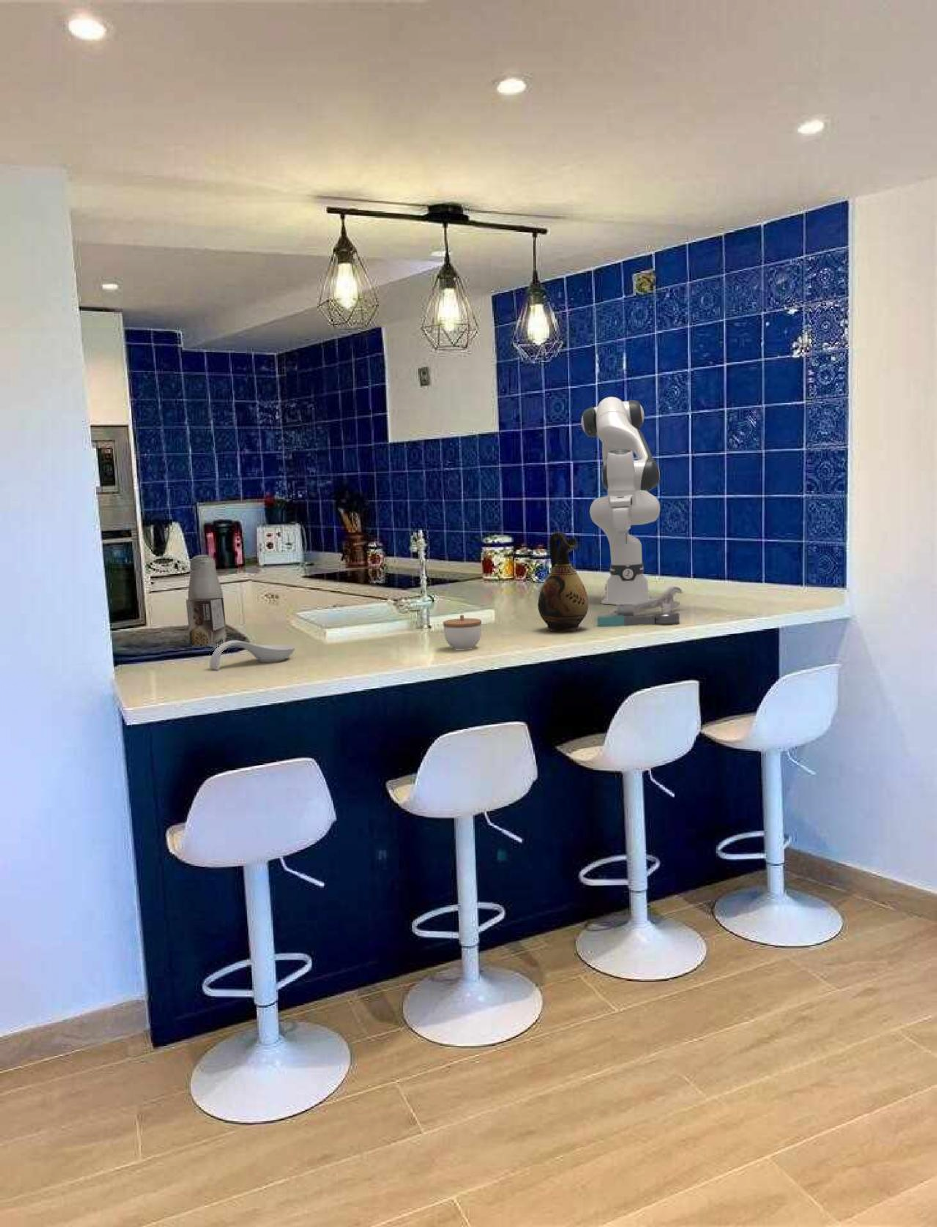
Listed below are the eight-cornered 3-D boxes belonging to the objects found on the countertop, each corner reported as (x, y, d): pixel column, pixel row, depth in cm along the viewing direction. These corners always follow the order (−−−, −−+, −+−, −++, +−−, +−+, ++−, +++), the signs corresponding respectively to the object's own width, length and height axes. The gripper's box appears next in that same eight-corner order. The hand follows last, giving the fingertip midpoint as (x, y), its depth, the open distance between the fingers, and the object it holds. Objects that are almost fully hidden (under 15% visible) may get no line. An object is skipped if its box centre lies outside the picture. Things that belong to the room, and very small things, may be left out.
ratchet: (597, 623, 303) (596, 604, 302) (677, 620, 301) (677, 601, 300) (598, 627, 295) (597, 608, 294) (681, 624, 293) (680, 605, 292)
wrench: (609, 627, 313) (680, 607, 326) (613, 628, 311) (684, 608, 324) (606, 603, 311) (678, 584, 325) (610, 604, 310) (681, 585, 323)
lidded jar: (485, 644, 274) (483, 612, 273) (478, 651, 264) (477, 617, 263) (448, 645, 276) (447, 613, 275) (440, 651, 266) (439, 618, 265)
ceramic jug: (599, 629, 291) (596, 530, 287) (556, 635, 284) (553, 534, 280) (567, 623, 306) (564, 529, 302) (526, 629, 299) (522, 532, 295)
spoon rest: (283, 655, 274) (281, 630, 273) (303, 660, 265) (301, 634, 264) (204, 668, 260) (202, 642, 259) (222, 673, 251) (220, 646, 250)
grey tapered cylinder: (201, 641, 307) (193, 553, 303) (231, 640, 305) (224, 552, 302) (187, 646, 298) (179, 556, 294) (218, 646, 296) (210, 555, 292)
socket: (616, 620, 309) (616, 604, 308) (632, 619, 308) (632, 604, 308) (617, 622, 304) (617, 606, 303) (633, 621, 303) (633, 606, 303)
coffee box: (229, 651, 285) (224, 597, 283) (215, 655, 279) (210, 600, 277) (203, 650, 288) (199, 597, 286) (190, 654, 282) (185, 600, 280)
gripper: (614, 501, 314) (616, 544, 315) (609, 501, 294) (610, 546, 295) (634, 500, 312) (635, 543, 314) (630, 500, 292) (631, 545, 294)
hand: (623, 544), depth 304 cm, fingers open, 8 cm apart
